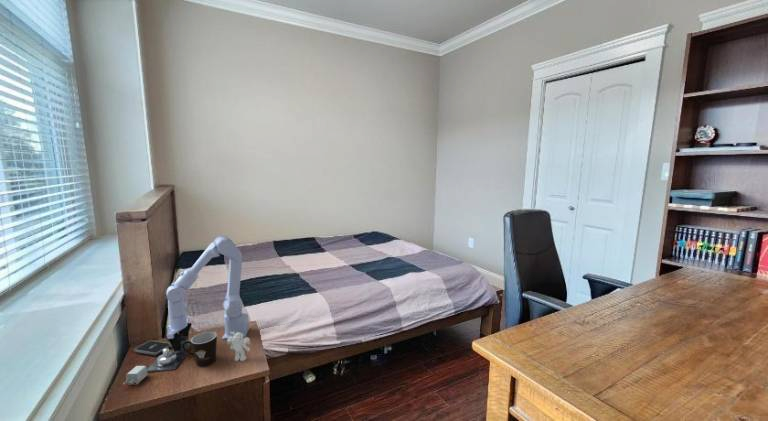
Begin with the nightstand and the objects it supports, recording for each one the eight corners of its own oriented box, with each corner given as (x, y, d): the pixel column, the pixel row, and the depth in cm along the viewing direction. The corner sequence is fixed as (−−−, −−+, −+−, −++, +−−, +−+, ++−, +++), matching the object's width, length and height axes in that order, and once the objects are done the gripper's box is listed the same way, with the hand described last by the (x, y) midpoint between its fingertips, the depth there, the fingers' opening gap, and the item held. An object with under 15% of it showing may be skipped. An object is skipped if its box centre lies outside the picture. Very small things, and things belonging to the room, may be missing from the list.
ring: (191, 344, 135) (190, 335, 134) (185, 352, 129) (184, 343, 128) (177, 345, 134) (176, 336, 133) (170, 353, 128) (169, 344, 128)
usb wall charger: (147, 375, 115) (146, 365, 114) (133, 389, 108) (131, 378, 108) (136, 376, 115) (135, 365, 114) (121, 389, 108) (119, 378, 108)
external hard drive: (150, 344, 135) (149, 340, 135) (171, 348, 133) (171, 343, 133) (134, 354, 129) (133, 349, 128) (156, 357, 126) (156, 353, 126)
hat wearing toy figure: (226, 361, 123) (224, 332, 121) (232, 355, 127) (230, 326, 125) (248, 363, 122) (246, 333, 120) (253, 357, 126) (251, 328, 124)
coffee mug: (224, 357, 126) (222, 333, 124) (205, 370, 118) (203, 345, 116) (201, 351, 129) (199, 328, 128) (182, 364, 121) (179, 340, 120)
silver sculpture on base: (187, 353, 128) (186, 340, 127) (175, 369, 118) (173, 355, 117) (160, 356, 127) (158, 343, 126) (145, 372, 117) (143, 358, 116)
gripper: (175, 307, 136) (178, 337, 138) (156, 324, 121) (160, 357, 124) (193, 306, 137) (196, 335, 139) (177, 322, 122) (180, 355, 125)
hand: (181, 345), depth 131 cm, fingers closed on ring, 6 cm apart
